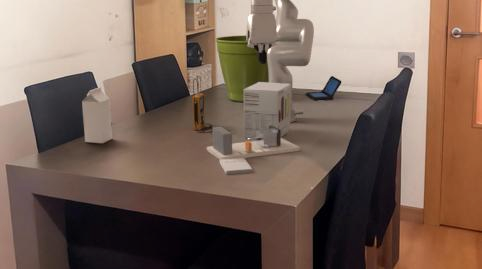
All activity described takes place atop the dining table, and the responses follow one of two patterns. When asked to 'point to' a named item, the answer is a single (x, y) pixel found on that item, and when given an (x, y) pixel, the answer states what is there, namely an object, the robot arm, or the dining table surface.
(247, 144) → the small orange block
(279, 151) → the base
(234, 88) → the plant pot
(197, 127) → the multimeter
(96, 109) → the milk carton
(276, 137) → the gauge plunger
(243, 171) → the external hard drive
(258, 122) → the supplement box
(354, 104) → the dining table surface
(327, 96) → the handheld game console
